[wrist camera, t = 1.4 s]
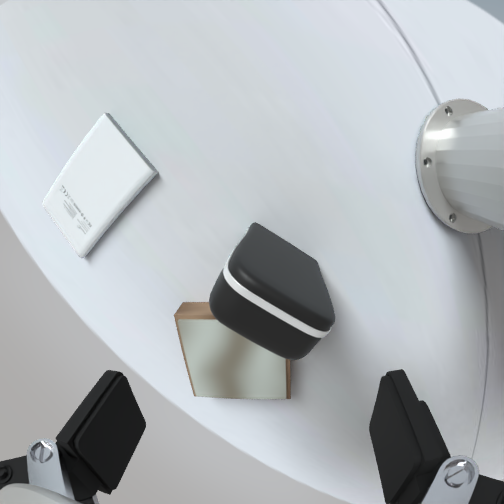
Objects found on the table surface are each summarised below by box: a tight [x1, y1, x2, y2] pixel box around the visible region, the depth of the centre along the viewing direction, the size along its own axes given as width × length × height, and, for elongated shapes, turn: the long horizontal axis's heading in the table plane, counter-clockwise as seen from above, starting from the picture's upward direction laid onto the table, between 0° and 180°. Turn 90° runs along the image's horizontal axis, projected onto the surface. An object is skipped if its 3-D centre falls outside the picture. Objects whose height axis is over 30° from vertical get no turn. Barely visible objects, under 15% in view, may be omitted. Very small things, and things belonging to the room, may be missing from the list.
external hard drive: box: [42, 113, 158, 258], centre depth 25 cm, size 2×8×12 cm
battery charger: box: [209, 223, 335, 360], centre depth 20 cm, size 7×4×11 cm, turn 59°
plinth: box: [174, 302, 291, 399], centre depth 27 cm, size 10×10×3 cm
